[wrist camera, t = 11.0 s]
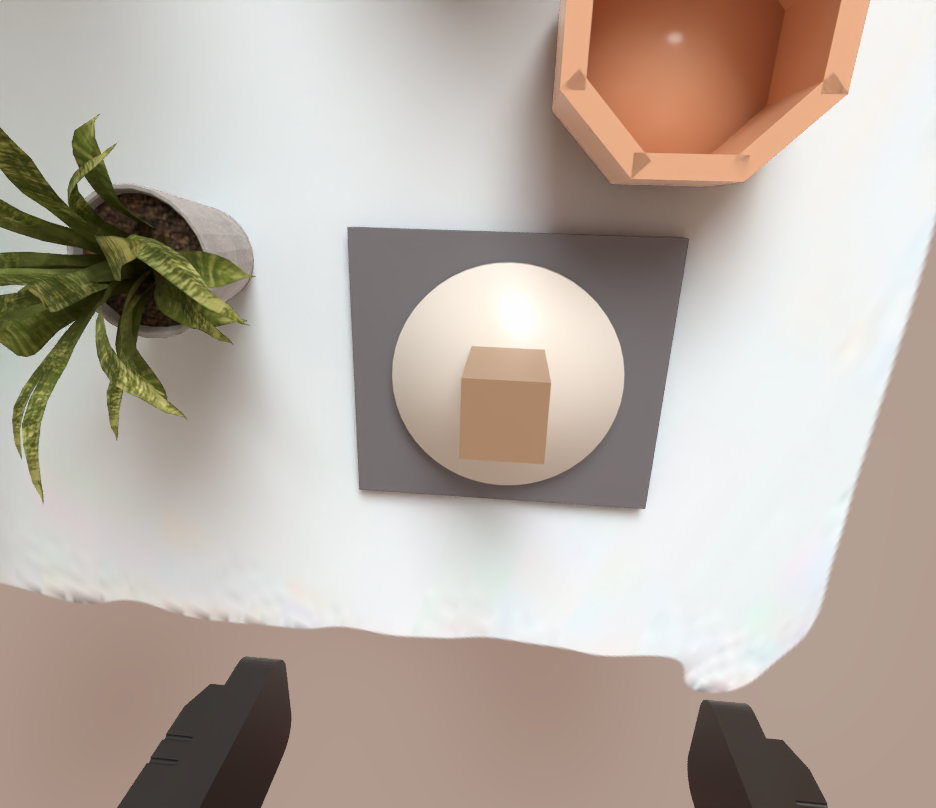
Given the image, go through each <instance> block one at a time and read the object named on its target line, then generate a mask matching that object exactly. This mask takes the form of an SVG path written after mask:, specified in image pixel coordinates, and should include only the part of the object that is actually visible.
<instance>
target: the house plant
mask: <svg viewBox="0 0 936 808" xmlns="http://www.w3.org/2000/svg"><path fill="white" fill-rule="evenodd" d="M98 116H99V114H98V115H97V116H96V117H94V118H93V119H91V120H90V121H88V122H87V123H85V124H84V125H82V126H81V127H79V128H78V129H76V130H75V131H74V136H73V140H72V147H73V155H74V157H75V159H76V162H77V164H78V167H79V169H78V170H77V171H76V172H75V173H74V175H73V176H72V178H71V180H70V182H69V186H68V204H69V207H70V208H69V207H68V206H67V205H66V204H65V203H64V202H63V201H62V199H61V198H60V197H59V196H58V195H57V194H56V193H55V192H54V190H53V189H52V188H51V186H50V185H49V184H48V183H47V181H46V180H45V179H44V177H43V176H42V174H41V173H40V171H39V170H38V168H37V167H36V165H35V164H34V162H33V161H32V159H31V158H30V157H29V156H28V155H27V154H26V153H25V152H24V151H23V150H22V149H21V148H20V147H18V146H17V145H16V144H15V143H14V142H13V141H12V140H11V139H10V138H9V137H8V135H7V134H6V133H5V132H4V131H3V130H2V129H1V128H0V169H1V170H2V171H3V173H4V174H5V175H6V177H7V178H8V179H9V180H10V181H11V182H12V183H13V184H14V185H15V186H16V187H17V188H18V189H19V190H20V191H21V192H22V193H23V194H25V195H26V196H28V197H29V198H31V199H33V200H34V201H36V202H37V203H39V204H40V205H42V206H43V207H45V208H46V209H48V210H49V211H50V212H52V213H53V214H54V215H55V216H57V217H58V218H59V219H60V220H62V221H63V222H64V223H65V224H67V225H68V226H69V228H68V227H64V226H61V225H57V224H54V223H50V222H47V221H45V220H42V219H40V218H37V217H35V216H32V215H29V214H27V213H24V212H22V211H20V210H18V209H17V208H15V207H13V206H11V205H9V204H8V203H6V202H4V201H2V200H0V227H2V228H5V229H7V230H10V231H13V232H16V233H19V234H22V235H26V236H29V237H32V238H35V239H39V240H42V241H46V242H51V243H56V244H62V245H67V255H62V254H50V253H36V252H8V253H0V286H7V285H26V286H25V287H24V288H22V289H21V290H20V291H18V293H12V294H6V295H0V343H2V344H3V345H4V346H6V347H7V348H8V349H10V350H11V351H12V352H14V353H15V354H16V355H18V356H24V357H28V356H31V355H34V354H36V353H37V352H38V351H39V350H41V349H42V348H43V347H44V345H45V344H46V343H47V342H48V341H49V340H50V339H51V338H52V337H53V336H54V335H55V334H56V333H57V332H58V331H59V330H60V329H62V328H64V327H65V326H67V325H68V324H70V323H72V322H73V321H75V320H76V321H75V322H74V323H73V324H72V325H71V326H70V327H69V329H68V330H67V331H66V332H65V333H64V335H63V336H62V337H61V338H60V340H59V341H58V343H57V344H56V345H55V347H54V348H53V349H52V351H51V352H50V353H49V354H48V356H47V357H46V358H45V359H44V361H43V362H42V363H41V364H40V366H39V367H38V368H37V370H36V371H35V372H34V373H33V375H32V376H31V377H30V379H29V380H28V382H27V383H26V385H25V386H24V388H23V389H22V391H21V393H20V395H19V397H18V399H17V401H16V403H15V405H14V410H13V419H12V423H13V433H14V440H15V444H16V447H17V449H18V452H19V454H20V456H21V458H22V455H21V446H20V427H21V420H22V417H23V413H24V409H25V406H26V404H27V401H28V399H29V397H30V394H31V392H32V391H33V389H34V388H35V386H36V384H37V383H38V384H37V386H36V388H35V390H34V392H33V394H32V396H31V398H30V400H29V403H28V407H27V410H26V413H25V416H24V420H23V423H22V433H23V446H24V450H25V454H26V458H27V463H28V468H29V472H30V475H31V478H32V482H33V484H34V486H35V487H36V489H37V491H38V493H39V494H40V496H41V498H42V501H43V491H42V485H41V478H40V468H39V459H38V444H39V434H40V426H41V420H42V417H43V414H44V410H45V407H46V404H47V401H48V399H49V397H50V395H51V393H52V391H53V389H54V387H55V385H56V383H57V381H58V379H59V378H60V376H61V374H62V372H63V371H64V369H65V367H66V365H67V363H68V361H69V359H70V356H71V354H72V352H73V349H74V347H75V345H76V343H77V341H78V340H79V338H80V336H81V334H82V333H83V331H84V329H85V327H86V326H87V324H88V322H89V321H90V319H91V318H92V316H93V315H94V313H95V312H97V313H99V315H98V317H97V320H96V347H97V354H98V358H99V361H100V364H101V367H102V369H103V371H104V372H105V374H106V375H107V377H108V378H109V379H110V384H109V387H108V390H107V405H108V411H109V419H110V424H111V428H112V430H113V432H114V433H115V436H116V441H117V437H118V420H119V408H120V403H121V399H122V394H123V390H124V391H126V392H127V393H130V394H132V395H134V396H136V397H139V398H141V399H142V400H144V401H146V402H147V403H149V404H151V405H152V406H154V407H156V408H158V409H160V410H162V411H164V412H166V413H170V414H175V415H179V416H182V417H184V418H186V417H185V416H184V415H183V414H182V413H181V412H180V411H179V410H178V409H177V408H176V407H174V406H173V405H172V404H171V403H169V402H168V401H167V396H166V392H165V390H164V388H163V386H162V384H161V382H160V381H159V379H158V378H157V377H156V375H155V374H154V372H153V371H152V370H151V368H150V367H149V366H148V364H147V363H146V362H145V360H144V359H143V358H142V356H141V355H140V353H139V352H138V350H137V349H136V342H137V336H142V337H145V338H167V337H170V336H174V335H177V334H181V333H182V332H184V331H185V330H187V329H188V328H193V329H199V330H201V331H204V332H206V333H207V334H209V335H211V336H212V337H214V338H216V339H218V340H220V341H225V342H230V343H232V342H231V341H230V340H229V339H228V338H227V337H226V336H224V335H223V334H222V333H221V332H220V331H219V330H217V329H216V328H215V327H216V326H220V325H225V324H229V323H234V322H237V323H241V324H244V325H248V324H245V323H244V322H243V321H246V320H243V319H240V318H239V316H238V315H237V314H236V312H235V311H234V310H233V308H231V307H230V306H229V305H228V304H226V303H225V302H226V301H227V300H229V299H230V298H232V297H233V296H234V295H236V294H237V293H238V292H240V291H241V290H242V289H243V288H244V287H245V285H246V284H247V283H248V281H249V279H250V277H255V276H252V275H251V274H252V269H253V253H252V247H251V245H250V242H249V240H248V237H247V235H246V234H245V232H244V231H243V229H242V228H241V226H240V225H239V224H238V223H237V222H236V221H235V220H234V219H233V218H232V217H230V216H229V215H227V214H225V213H224V212H222V211H220V210H217V209H214V208H211V207H208V206H205V205H202V204H198V203H195V202H192V201H189V200H186V199H182V198H179V197H176V196H173V195H170V194H167V193H163V192H160V191H157V190H154V189H150V188H147V187H143V186H139V185H136V184H112V183H111V181H110V178H109V175H108V172H107V169H106V167H105V164H104V161H103V159H104V158H105V157H106V156H107V155H108V154H109V152H110V151H111V150H112V149H113V148H114V147H115V145H116V144H117V143H116V144H115V145H113V146H112V147H110V148H108V149H107V150H106V151H104V152H103V153H102V154H101V153H100V150H99V147H98V145H97V142H96V139H95V128H94V122H95V120H96V119H97V117H98ZM84 176H85V178H86V179H87V180H88V182H89V183H90V185H91V186H92V187H93V189H94V190H95V191H94V192H93V193H92V194H90V195H89V196H88V197H87V198H85V199H84V198H83V197H82V195H81V194H80V193H79V192H78V187H77V183H78V182H79V181H80V180H81V179H82V178H83V177H84ZM103 318H105V319H106V320H107V321H108V322H109V323H111V324H112V325H114V326H116V327H118V329H117V336H116V343H115V345H116V352H117V355H116V353H115V352H114V350H113V349H112V348H111V346H110V343H109V341H108V338H107V335H106V330H105V324H104V319H103ZM232 344H233V343H232ZM39 380H40V381H39ZM38 381H39V382H38ZM186 419H187V418H186Z"/></svg>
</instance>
